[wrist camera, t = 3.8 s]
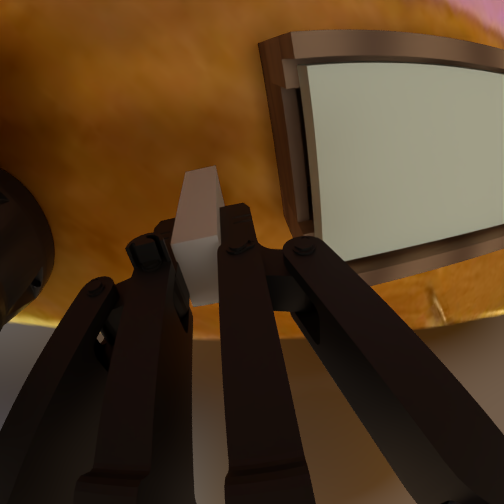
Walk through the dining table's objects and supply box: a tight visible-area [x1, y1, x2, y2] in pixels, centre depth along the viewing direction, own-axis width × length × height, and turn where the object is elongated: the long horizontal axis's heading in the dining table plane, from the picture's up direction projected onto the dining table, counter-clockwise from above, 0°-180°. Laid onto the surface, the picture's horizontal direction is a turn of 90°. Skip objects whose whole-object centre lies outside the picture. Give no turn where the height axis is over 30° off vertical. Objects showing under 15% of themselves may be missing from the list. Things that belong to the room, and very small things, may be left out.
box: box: [258, 30, 504, 286], centre depth 19 cm, size 20×14×10 cm
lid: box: [297, 61, 504, 261], centre depth 16 cm, size 19×11×3 cm, turn 99°
